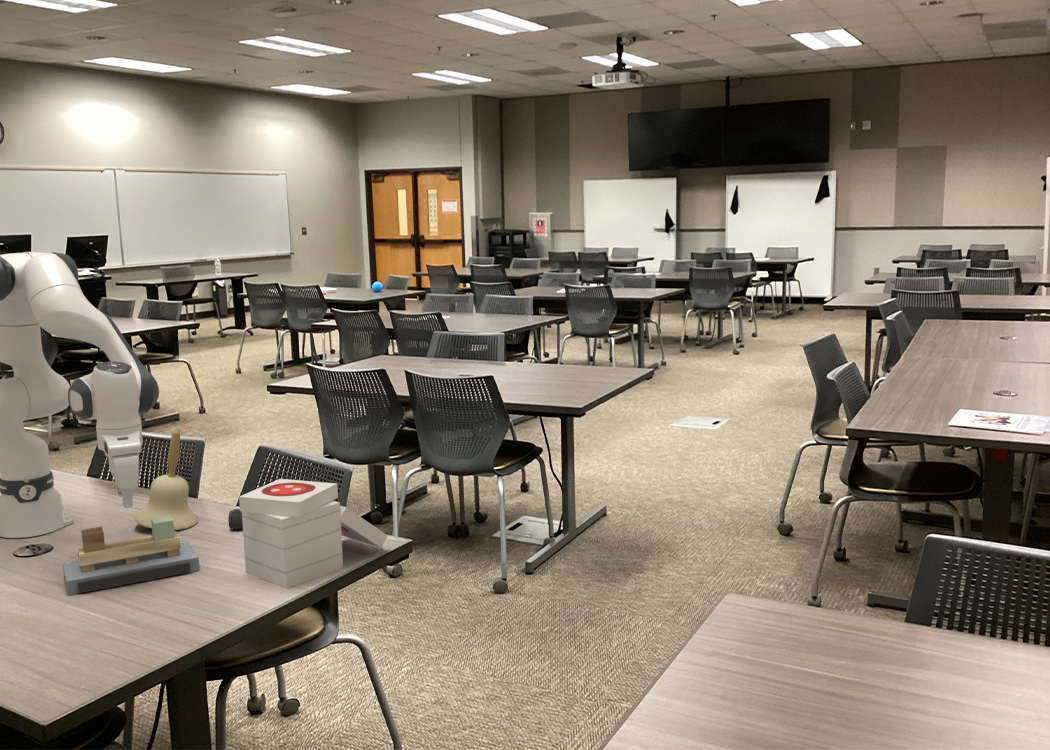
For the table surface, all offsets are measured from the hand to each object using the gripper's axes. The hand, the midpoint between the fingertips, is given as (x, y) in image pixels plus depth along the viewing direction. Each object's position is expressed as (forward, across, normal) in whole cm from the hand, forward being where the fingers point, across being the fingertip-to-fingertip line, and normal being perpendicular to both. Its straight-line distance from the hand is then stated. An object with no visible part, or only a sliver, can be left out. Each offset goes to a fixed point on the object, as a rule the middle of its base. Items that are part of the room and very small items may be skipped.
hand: (125, 501), depth 197 cm
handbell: (+17, -32, +12) cm, 38 cm away
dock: (+16, 0, 0) cm, 16 cm away
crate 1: (+9, 0, -7) cm, 12 cm away
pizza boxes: (+16, +15, +36) cm, 43 cm away
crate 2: (+9, 0, +7) cm, 12 cm away
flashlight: (+17, -16, +32) cm, 40 cm away
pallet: (+13, 0, 0) cm, 13 cm away
